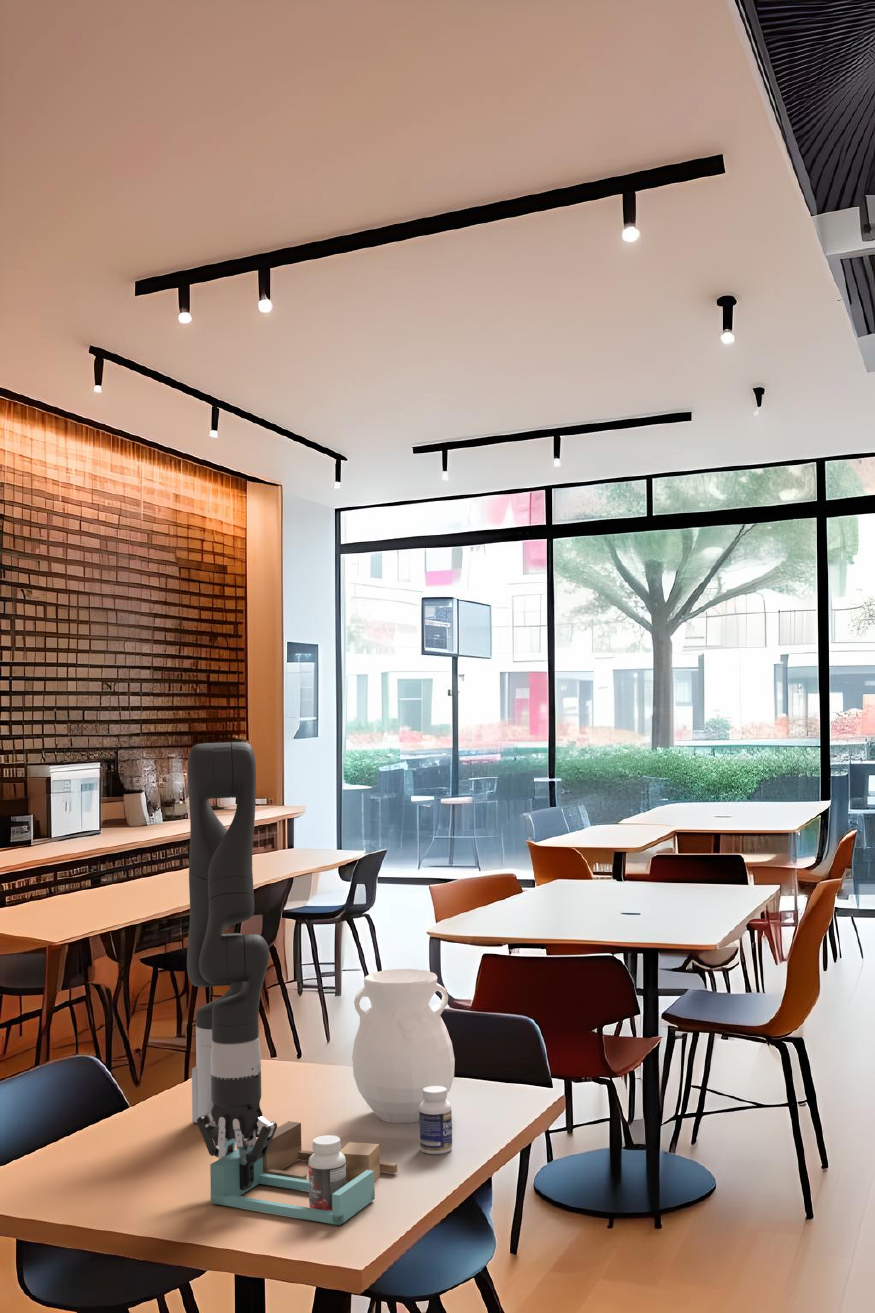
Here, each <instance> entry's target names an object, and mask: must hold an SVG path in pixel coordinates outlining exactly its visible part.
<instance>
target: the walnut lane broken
mask: <svg viewBox="0 0 875 1313" xmlns="http://www.w3.org/2000/svg"><path fill="white" fill-rule="evenodd" d="M256 1141H257V1138H256ZM314 1153H315V1152H314V1151H313V1150H312V1151H310V1150H304V1149H302V1122H299V1121H298V1122H297V1121H287V1122H284V1123H283V1124H280V1125H279V1126H277V1129H276V1131H275V1133H274V1136H273V1138H272V1141H271V1143H270V1146H269V1148H268V1150H267V1153H266V1155H265V1157H263V1173H265V1174H271V1175H278V1176H284V1177H290V1178H297V1179H303V1180H308V1179H307V1174H305V1173H300V1172H295V1171H287V1170H284V1169H286V1168H287V1167H289V1166H291V1165H292V1164H293V1163H296V1162H297V1161H304V1162H309V1158H310V1156H311V1155H312V1154H314ZM380 1173H385V1174H386V1173H387V1174H396V1173H398V1163H395V1162H388V1161H382V1160H380ZM349 1182H350V1181H347V1180H346V1184H347V1183H349Z"/></svg>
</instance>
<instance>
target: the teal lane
mask: <svg viewBox="0 0 875 1313" xmlns="http://www.w3.org/2000/svg"><path fill="white" fill-rule="evenodd" d="M240 1164H241V1162H240V1155H239V1149H237V1148H236V1149H235V1151H233V1152H232V1153H230V1154H228V1155H226V1156H224V1157H223V1158H221V1159H219V1158H218V1159H217V1160H216V1161H213V1162H211V1163H210V1165H209V1167H210V1175H209V1176H210V1203H211V1204H214V1205H220V1206H228V1207H233V1208H238V1209H243V1210H250V1211H255V1212H262V1213H267V1214H272V1215H278V1216H279V1215H280V1216H285V1217H290V1218H297V1219H301V1220H307V1221H313V1222H314V1221H315V1222H320V1223H325V1224H330V1225H336V1226H337V1225H338V1226H342V1224H345V1222H347V1220H349V1219H351V1217H353V1216H355V1215H356V1214H357V1213H358V1212H359V1211H361V1210H362V1209H364V1208H365V1207H366V1206H368V1205H369V1204H371V1203H372V1202H373V1201H374V1200H375V1199H376V1198H375V1196H376V1194H375V1183H374V1171H372V1170H366V1171H364V1172H363V1173H362V1174H360V1175H359V1176H357V1177H356V1178H354V1179H353V1180H352V1181H350V1182H349V1183H347V1184H346V1185H344V1186H343V1187H342V1188H340V1189H339V1190H337V1191H336V1192H335V1193H333V1194H332V1212H331V1211H325V1210H319V1209H313V1208H310V1207H307V1206H299V1205H294V1204H289V1203H283V1202H276V1201H270V1200H265V1199H260V1198H259V1199H258V1198H253V1197H246V1196H242V1195H243V1194H245V1193H246V1192H249V1190H251V1189H253V1188H254V1187H256V1186H258V1185H266V1186H273V1187H278V1188H285V1189H290V1190H291V1189H292V1190H298V1191H304V1192H309V1179H307V1180H303V1179H297V1178H290V1177H284V1176H278V1175H271V1174H265V1173H263V1158H261V1159H259V1160H257V1161H256V1162H254V1182H253V1184H252V1185H251V1187H250V1188H248V1189H246V1190H241V1189H240V1171H239V1165H240Z"/></svg>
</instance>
